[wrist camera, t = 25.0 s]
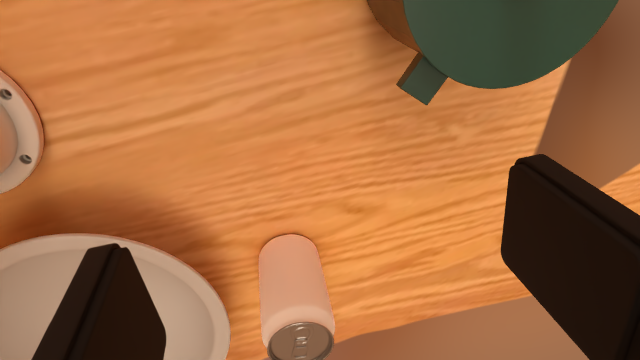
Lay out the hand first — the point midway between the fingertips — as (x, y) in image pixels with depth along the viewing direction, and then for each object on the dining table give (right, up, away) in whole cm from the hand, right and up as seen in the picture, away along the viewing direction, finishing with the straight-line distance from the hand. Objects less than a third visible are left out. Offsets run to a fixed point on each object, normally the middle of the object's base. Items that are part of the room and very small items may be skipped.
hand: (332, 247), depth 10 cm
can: (-4, -6, +35) cm, 36 cm away
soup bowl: (-22, -10, +34) cm, 41 cm away
